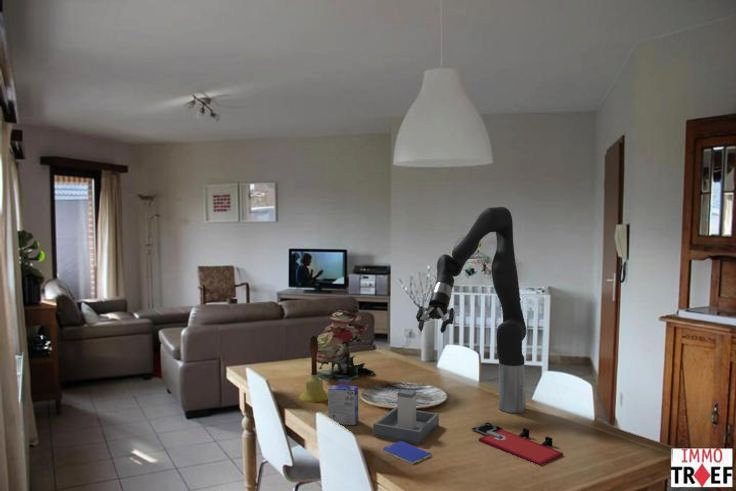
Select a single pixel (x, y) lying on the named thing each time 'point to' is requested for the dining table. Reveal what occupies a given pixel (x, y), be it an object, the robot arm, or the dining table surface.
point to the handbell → (314, 378)
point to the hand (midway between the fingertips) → (431, 330)
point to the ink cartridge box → (343, 403)
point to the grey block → (407, 409)
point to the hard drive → (406, 452)
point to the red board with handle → (518, 444)
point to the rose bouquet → (340, 347)
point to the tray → (390, 429)
